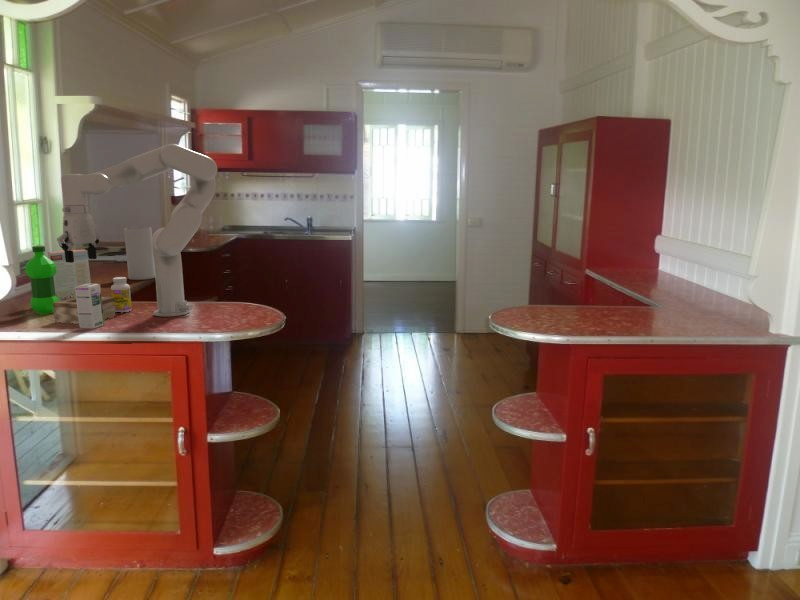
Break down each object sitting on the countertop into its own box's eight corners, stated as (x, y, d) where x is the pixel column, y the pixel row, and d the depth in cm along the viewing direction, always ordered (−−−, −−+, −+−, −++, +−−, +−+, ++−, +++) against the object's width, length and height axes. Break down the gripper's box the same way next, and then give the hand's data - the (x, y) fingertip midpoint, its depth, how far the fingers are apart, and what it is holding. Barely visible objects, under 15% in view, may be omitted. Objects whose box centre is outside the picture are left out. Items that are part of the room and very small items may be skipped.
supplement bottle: (111, 314, 255) (108, 279, 252) (114, 310, 261) (110, 277, 259) (130, 312, 256) (127, 278, 254) (132, 309, 263) (129, 276, 260)
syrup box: (94, 328, 230) (90, 286, 228) (78, 328, 231) (74, 285, 229) (104, 325, 236) (100, 283, 233) (89, 324, 237) (85, 283, 234)
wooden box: (115, 316, 250) (113, 297, 249) (86, 324, 237) (84, 304, 236) (85, 314, 255) (83, 295, 253) (54, 322, 242) (52, 302, 240)
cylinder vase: (159, 278, 341) (155, 227, 336) (134, 281, 333) (129, 229, 328) (149, 275, 350) (145, 226, 345) (124, 278, 342) (120, 228, 337)
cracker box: (89, 298, 287) (84, 248, 283) (93, 300, 282) (88, 250, 279) (52, 302, 279) (47, 251, 275) (55, 305, 274) (49, 252, 270)
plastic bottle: (47, 309, 265) (39, 244, 261) (67, 311, 261) (60, 245, 257) (24, 314, 256) (16, 247, 251) (44, 316, 252) (37, 248, 247)
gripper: (63, 212, 225) (68, 264, 228) (104, 209, 240) (109, 258, 244) (46, 212, 228) (52, 263, 231) (88, 209, 243) (93, 257, 246)
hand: (81, 260), depth 237 cm, fingers open, 9 cm apart
